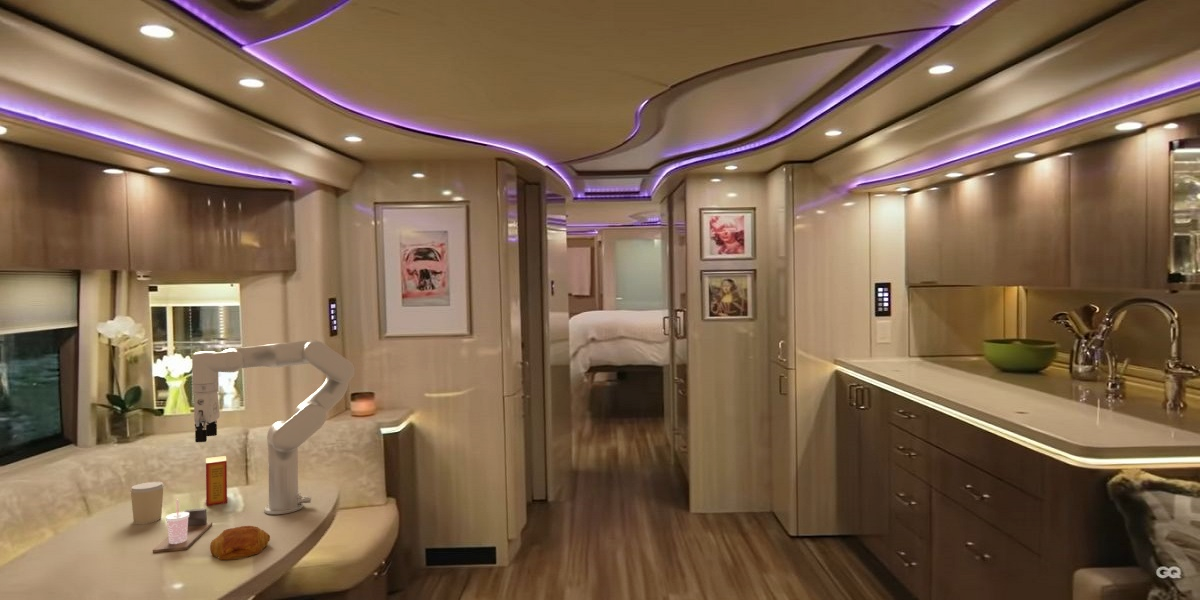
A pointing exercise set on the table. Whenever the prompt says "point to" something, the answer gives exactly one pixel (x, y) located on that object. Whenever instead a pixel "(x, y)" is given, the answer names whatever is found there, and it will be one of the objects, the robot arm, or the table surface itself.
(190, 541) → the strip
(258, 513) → the table surface
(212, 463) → the baking soda box
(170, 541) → the beverage cup
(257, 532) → the croissant
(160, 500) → the coffee cup
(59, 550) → the table surface
